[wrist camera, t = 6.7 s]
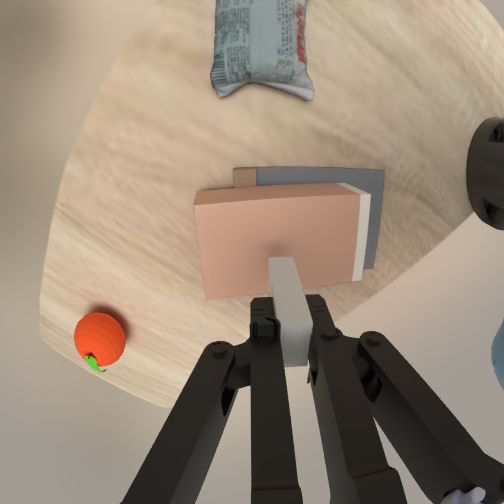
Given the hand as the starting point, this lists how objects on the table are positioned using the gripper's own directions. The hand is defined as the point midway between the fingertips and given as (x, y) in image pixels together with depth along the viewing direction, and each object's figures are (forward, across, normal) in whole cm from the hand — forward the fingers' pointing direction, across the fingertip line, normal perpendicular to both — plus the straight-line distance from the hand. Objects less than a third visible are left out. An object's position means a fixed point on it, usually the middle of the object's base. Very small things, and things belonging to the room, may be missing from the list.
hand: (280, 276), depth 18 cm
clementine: (+11, +21, +13) cm, 27 cm away
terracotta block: (+6, +6, 0) cm, 9 cm away
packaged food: (+11, 0, -18) cm, 21 cm away
